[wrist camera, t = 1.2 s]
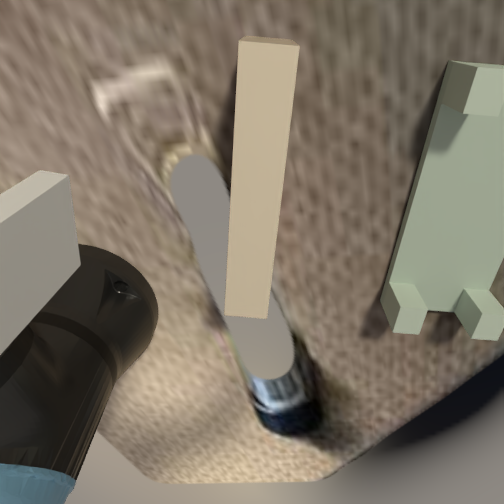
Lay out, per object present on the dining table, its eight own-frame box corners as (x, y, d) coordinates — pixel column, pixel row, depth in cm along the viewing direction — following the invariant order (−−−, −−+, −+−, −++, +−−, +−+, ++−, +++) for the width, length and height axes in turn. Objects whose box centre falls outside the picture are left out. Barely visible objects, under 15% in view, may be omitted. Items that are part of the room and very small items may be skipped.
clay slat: (266, 262, 41) (266, 318, 33) (232, 259, 41) (224, 315, 33) (291, 39, 31) (299, 45, 23) (245, 35, 31) (238, 40, 23)
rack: (474, 308, 43) (497, 340, 38) (379, 300, 43) (392, 332, 38) (576, 71, 31) (626, 79, 27) (448, 60, 31) (477, 66, 27)
